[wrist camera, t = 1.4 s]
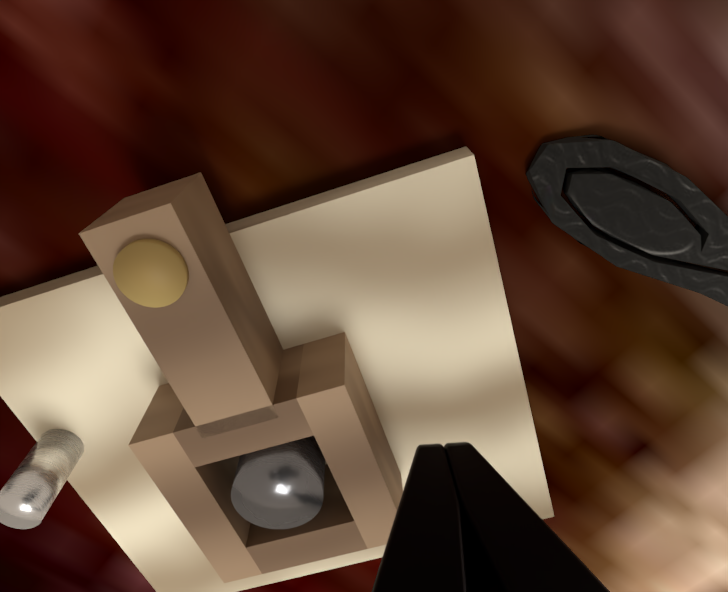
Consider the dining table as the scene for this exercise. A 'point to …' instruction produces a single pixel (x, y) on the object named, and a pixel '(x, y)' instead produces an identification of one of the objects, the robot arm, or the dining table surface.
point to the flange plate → (238, 388)
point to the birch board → (296, 327)
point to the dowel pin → (39, 479)
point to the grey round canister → (280, 484)
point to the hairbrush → (633, 212)
